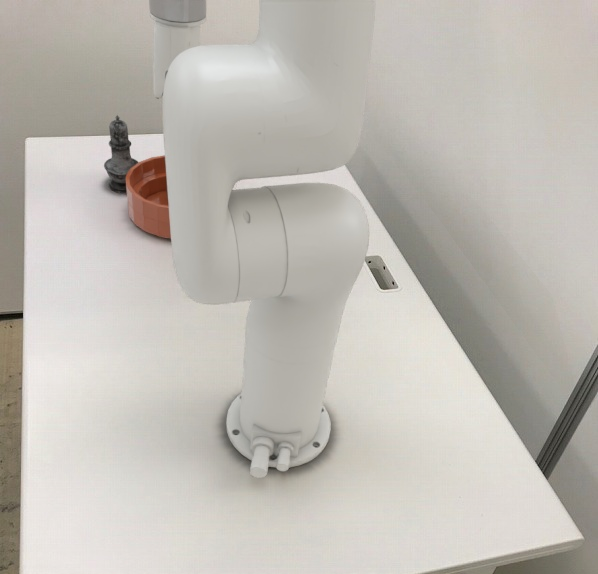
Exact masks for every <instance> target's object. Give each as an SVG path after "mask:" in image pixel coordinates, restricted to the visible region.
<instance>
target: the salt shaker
mask: <svg viewBox="0 0 598 574" xmlns="http://www.w3.org/2000/svg"><path fill="white" fill-rule="evenodd" d="M108 128H109V136H110V137H109V138H110V140H109V141H108V146H109V147H110V152H111V157H110V158H109V159H107V160H106V161H105V162H104V164H103V168H104V170H105V171H106V172H107V175H108V177H109V179H110V180H109V181H108V183H107V186H108V188H109V189H110V190H111V191H113V192H115V193H119V194H127V190H126V175H127V173H128V172H129V170H130V168H132V167H133V166H134V165H136V164H137V163H139V162H140V161H138V160H137V159H135V158H133V157H132V155H131V146H132V142H131V140H129V130H128V129H129V128H128V124H127V123H126V122H125V121H124V120H122V119H120V116H119V115H118V114H117V115H116V116H115V119H114V120H112V121H111V122H110V123H109V125H108Z"/></svg>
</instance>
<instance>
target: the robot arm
mask: <svg viewBox="0 0 598 574" xmlns="http://www.w3.org/2000/svg"><path fill="white" fill-rule="evenodd" d="M148 5H149V6H148V7H149V17H150V18H151V19H152V20H153V21H154V24H153V41H152V79H153V82H152V83H153V84H152V85H153V86H152V87H153V96H154V98H155V99H157V100H159V99H162V105H161V106H162V108H161V109H162V137H163V148H164V155H165V163H166V177H167V190H168V204H169V218H170V232H171V238H170V242H171V243H170V244H171V252H172V253H171V254H172V260H173V266H174V267H173V268H174V270H175V275H176V278H177V281H178V284H179V286H180V288H181V290H182V291H183V293H184V294H185V295H186V297H188V298H189V299H190V300H191V301H193V302H195V303H198V304H201V305H208V306H209V305H210V306H216V305H227V304H236V303H241V302H248V301H249V305H248V309H247V313H246V317H245V319H246V322H245V335H244V349H243V350H244V351H243V364H242V365H243V366H242V377H241V378H242V380H241V392H240V393H239V394H238V395H237V396H236V397H235V398H234V400H232V402H231V404H230V406H229V408H228V410H227V413H226V422H225V426H226V433H227V436H228V439H229V441H230V443H231V444H232V446H233V447H234V448H235V450H237V451H238V452H239V454H240V455H242V456H243V457H245V458H247V459H248V460H249V461H250V468H249V474H250V476H252V477H254V478H256V479H264V478H266V477H267V476H268V472H269V468H275V469H276V470H278V471H279V472H287V471H288V470H290V469H289V468H294V467H299V466H302V465H304V464H307V463H309V462H311V461H312V460H314V459H315V458H317V457H318V456H319V455H320V454H321V453H322V452H323V451H324V449H325V448H326V446H327V445H328V442H329V440H330V435H331V430H332V425H331V422H332V421H331V419H330V414H329V413H328V412H329V411H328V410H327V409H326V406H325V405H324V401H325V396H326V391H327V386H328V383H329V378H330V374H331V373H330V372H331V367H332V363H333V358H334V355H335V349H336V344H337V340H338V337H339V331H340V328H341V323H342V319H343V315H344V312H345V308H346V305H347V302H348V299H349V297H350V295H351V292H352V290H353V288H354V286H355V284H356V282H357V280H358V278H359V276H360V273H361V271H362V269H363V267H364V264H365V262H366V259H367V254H368V250H369V245H370V244H369V243H370V224H369V218H368V215H367V212H366V210H365V207H364V205H363V204H362V203H361V200H359V198H358V197H357V196H356V195H355V194H354V193H353V192H352V191H350V190H349V189H347V188H345V187H342V186H340V185H337V184H333V183H327V182H297V183H287V184H275V185H264V186H261V187H260V186H259V187H249V188H239V189H234V187H235V185H236V184H237V183H238V182H240V181H243V180H244V181H245V180H254V179H256V180H257V179H267V178H278V177H279V178H280V177H291V176H300V175H301V176H302V175H311V174H318V173H323V172H324V173H325V172H328V171H333V170H337V169H339V168H342V167H344V166H345V165H347V164H348V163H349V162H351V160H352V159H353V158H354V156H355V154H356V152H357V150H358V148H359V144H360V141H361V137H362V132H363V126H364V117H365V112H366V103H367V93H368V86H369V85H368V83H369V74H370V66H371V65H370V64H371V57H372V46H373V37H374V27H375V20H376V19H375V18H376V6H377V0H259V5H258V6H259V14H258V15H259V16H258V17H259V20H258V30H257V31H258V32H257V35H256V38H255V39H254V41H253V42H252V43H247V44H246V43H238V44H237V43H233V44H230V43H229V44H228V43H227V44H226V43H225V44H224V43H223V44H203V45H202V44H201V25H203V24H205V23H206V21H207V0H148Z"/></svg>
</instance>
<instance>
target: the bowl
mask: <svg viewBox="0 0 598 574" xmlns="http://www.w3.org/2000/svg"><path fill="white" fill-rule="evenodd" d="M138 162H139V163H137V164H136V165H134V166H133V167H132V168H130V170H129V172H128V173H127V175H126V190H127V193H126V199H127V209H128V216H129V218H130V219H131V220H132V222H133V224H134V225H135V226H137V227H138V228H140V229H141V230H143V231H144V232H146V233H149V234H151V235H154V236H155V237H156V236H157V237H159V238H166V239H171V232H170V218H169V204H168V199H167V177H166V163H165V154H164V155H157V156H153V157H149V158H146V159H143V160H141V161H138Z"/></svg>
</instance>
